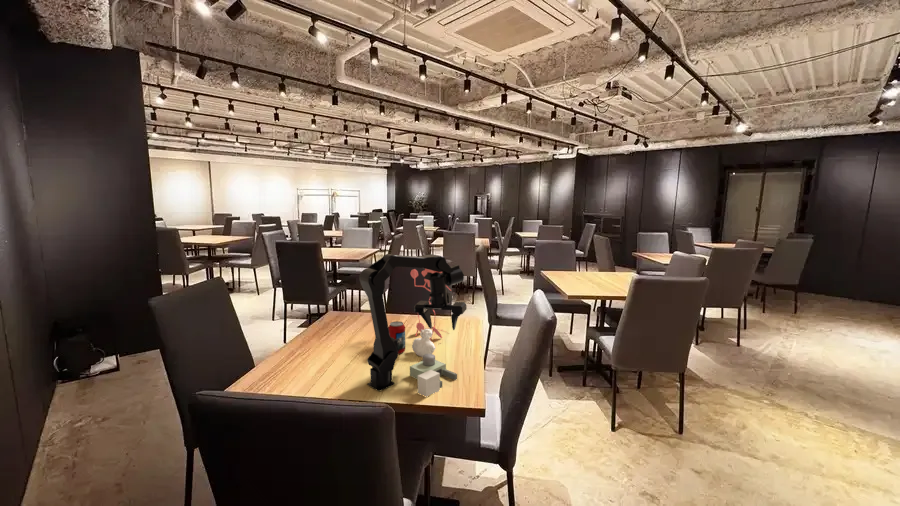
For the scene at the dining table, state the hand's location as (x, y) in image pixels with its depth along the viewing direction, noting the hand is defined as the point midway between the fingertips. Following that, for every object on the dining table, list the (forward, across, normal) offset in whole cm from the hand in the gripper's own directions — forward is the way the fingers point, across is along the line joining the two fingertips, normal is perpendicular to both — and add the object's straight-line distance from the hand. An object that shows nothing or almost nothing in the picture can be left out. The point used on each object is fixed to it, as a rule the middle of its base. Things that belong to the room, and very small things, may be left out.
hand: (442, 329), depth 140 cm
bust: (+14, +11, -6) cm, 19 cm away
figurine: (+16, +16, -27) cm, 36 cm away
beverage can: (+13, +23, -4) cm, 26 cm away
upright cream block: (+12, -2, +22) cm, 25 cm away
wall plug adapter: (+13, 0, +12) cm, 17 cm away
